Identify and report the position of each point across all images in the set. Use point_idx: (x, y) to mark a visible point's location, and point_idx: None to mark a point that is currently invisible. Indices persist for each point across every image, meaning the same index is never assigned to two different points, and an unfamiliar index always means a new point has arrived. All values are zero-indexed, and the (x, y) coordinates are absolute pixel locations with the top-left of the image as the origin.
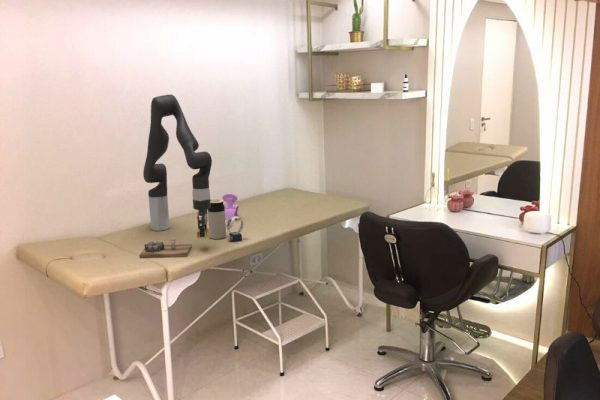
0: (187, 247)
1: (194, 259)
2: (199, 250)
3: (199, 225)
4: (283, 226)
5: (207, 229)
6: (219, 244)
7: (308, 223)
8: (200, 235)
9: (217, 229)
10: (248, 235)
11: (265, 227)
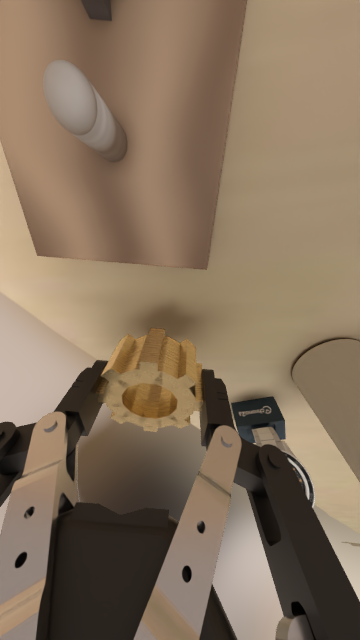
0: (145, 249)
1: (21, 290)
2: (150, 304)
3: (31, 453)
4: (327, 483)
5: (159, 420)
6: (219, 370)
7: (319, 506)
8: (82, 372)
9: (319, 404)
10: (289, 434)
11: (347, 463)
